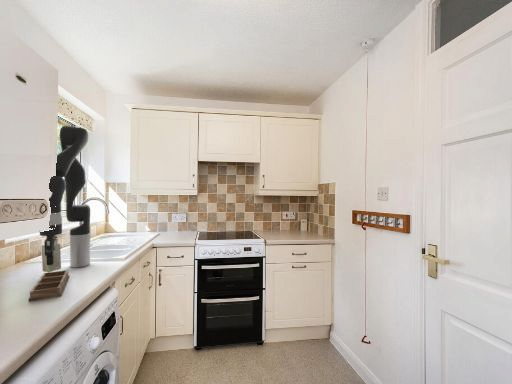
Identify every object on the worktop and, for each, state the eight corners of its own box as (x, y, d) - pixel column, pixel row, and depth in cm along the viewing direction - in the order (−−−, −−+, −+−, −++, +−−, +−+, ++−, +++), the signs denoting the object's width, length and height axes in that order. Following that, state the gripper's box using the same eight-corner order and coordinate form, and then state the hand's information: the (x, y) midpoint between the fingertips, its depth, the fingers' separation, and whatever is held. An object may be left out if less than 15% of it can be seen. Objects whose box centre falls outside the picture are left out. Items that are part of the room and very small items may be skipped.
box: (55, 268, 117) (54, 242, 117) (61, 269, 115) (61, 243, 115) (41, 271, 112) (41, 245, 112) (48, 272, 110) (47, 245, 110)
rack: (42, 280, 122) (42, 273, 122) (69, 277, 127) (69, 269, 127) (28, 301, 100) (28, 292, 100) (61, 296, 105) (61, 287, 105)
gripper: (43, 222, 118) (43, 260, 118) (35, 226, 105) (36, 268, 105) (64, 221, 121) (64, 258, 121) (59, 224, 109) (59, 265, 109)
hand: (51, 262), depth 113 cm, fingers closed on box, 6 cm apart
